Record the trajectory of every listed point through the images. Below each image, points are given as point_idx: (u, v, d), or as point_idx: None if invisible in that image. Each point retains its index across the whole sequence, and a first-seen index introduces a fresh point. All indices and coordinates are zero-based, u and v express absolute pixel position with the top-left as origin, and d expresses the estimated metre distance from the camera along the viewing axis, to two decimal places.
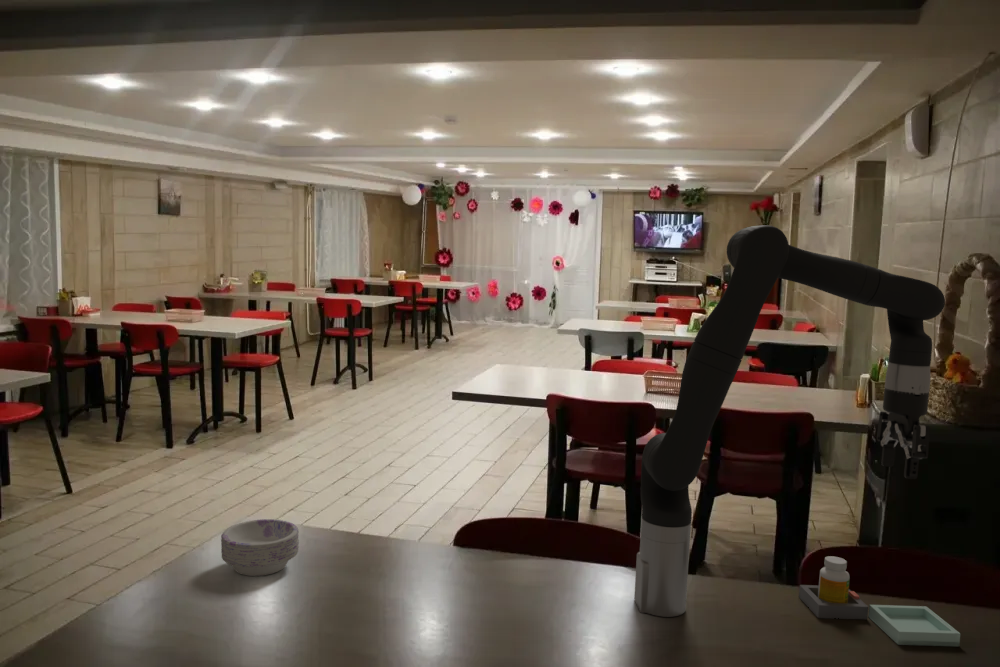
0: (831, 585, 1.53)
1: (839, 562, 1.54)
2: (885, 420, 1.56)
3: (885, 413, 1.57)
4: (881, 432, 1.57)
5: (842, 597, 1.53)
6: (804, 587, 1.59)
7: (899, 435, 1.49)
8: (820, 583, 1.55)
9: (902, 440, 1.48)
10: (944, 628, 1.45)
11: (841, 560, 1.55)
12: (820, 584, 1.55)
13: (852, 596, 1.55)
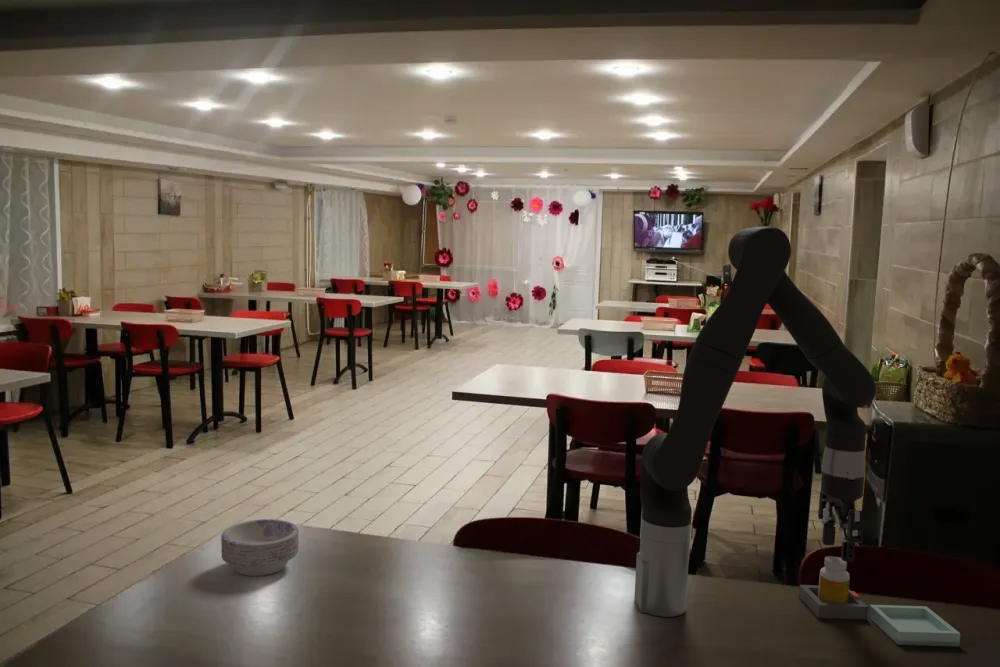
0: (831, 585, 1.53)
1: (839, 562, 1.54)
2: (825, 499, 1.59)
3: None
4: (822, 511, 1.60)
5: (842, 597, 1.53)
6: (804, 587, 1.59)
7: (836, 518, 1.52)
8: (820, 583, 1.55)
9: (838, 523, 1.51)
10: (944, 628, 1.45)
11: (841, 560, 1.55)
12: (820, 584, 1.55)
13: (852, 596, 1.55)
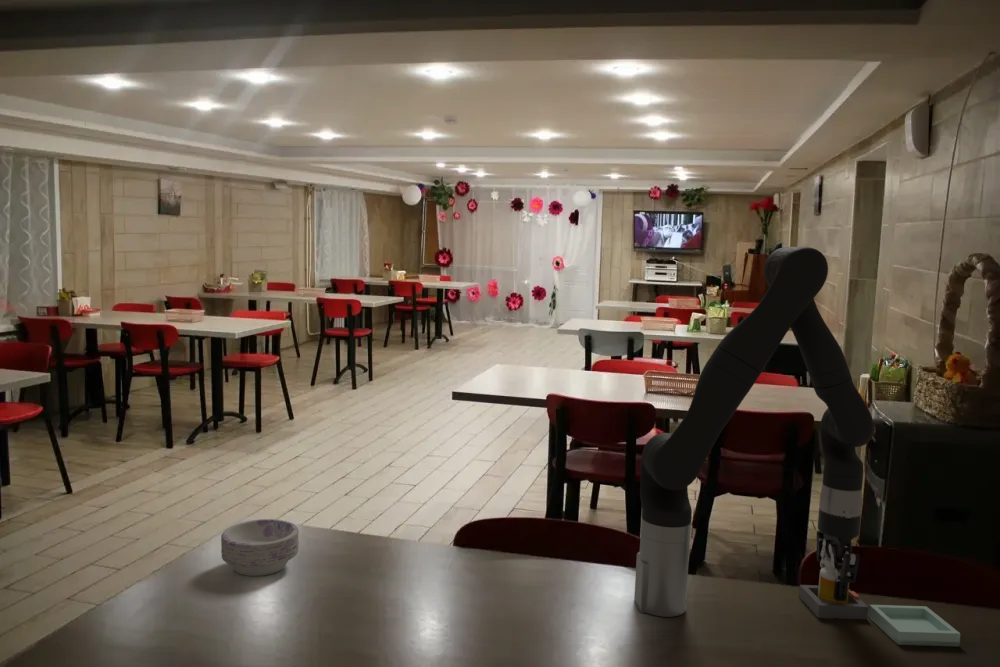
0: (831, 585, 1.53)
1: None
2: (822, 539, 1.60)
3: (821, 532, 1.60)
4: (820, 551, 1.60)
5: None
6: (804, 587, 1.59)
7: (831, 556, 1.53)
8: (820, 583, 1.55)
9: (833, 563, 1.52)
10: (944, 628, 1.45)
11: None
12: (820, 584, 1.55)
13: (852, 596, 1.55)
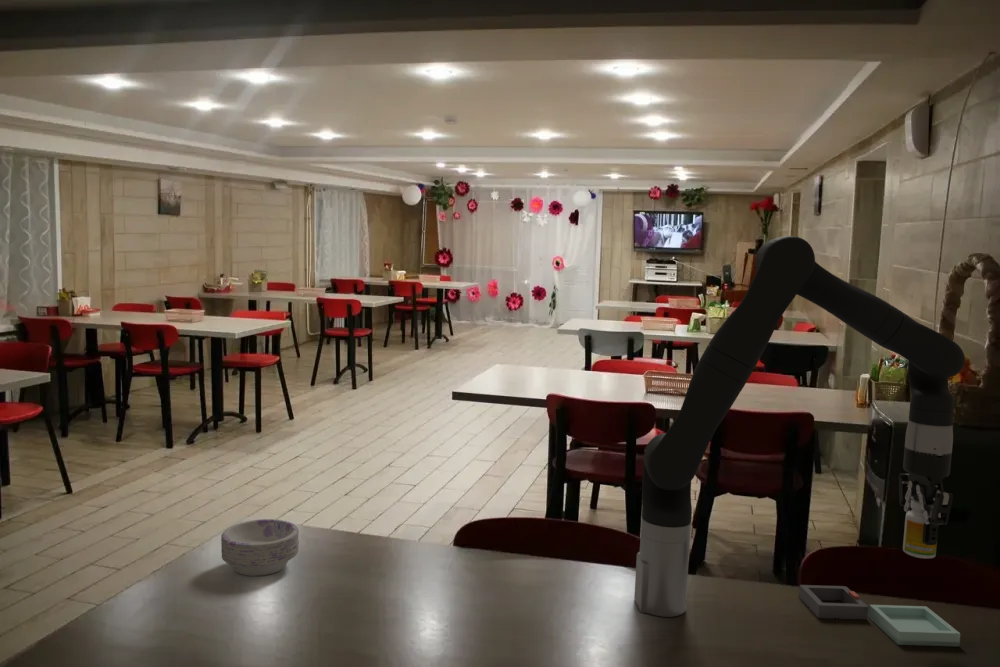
0: (920, 528, 1.43)
1: (928, 504, 1.44)
2: (905, 482, 1.50)
3: (904, 475, 1.51)
4: (903, 495, 1.50)
5: None
6: (804, 587, 1.59)
7: (920, 497, 1.43)
8: (907, 527, 1.46)
9: (922, 504, 1.42)
10: (944, 628, 1.45)
11: None
12: (907, 528, 1.45)
13: (852, 596, 1.55)
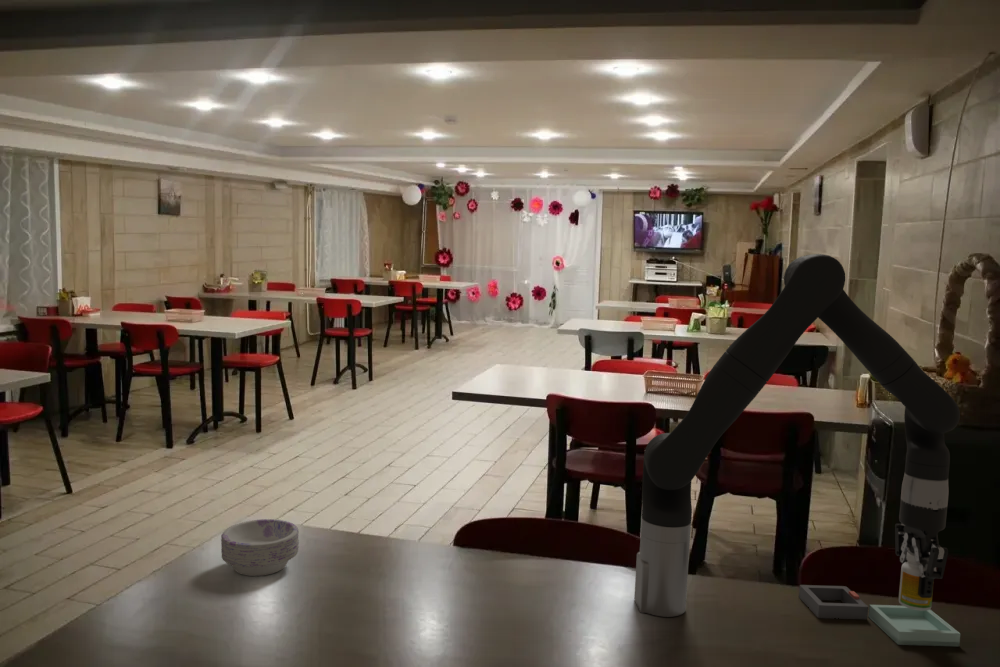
0: (915, 581, 1.44)
1: None
2: (902, 532, 1.51)
3: (900, 525, 1.51)
4: (899, 546, 1.51)
5: None
6: (804, 587, 1.59)
7: (915, 550, 1.44)
8: (902, 579, 1.46)
9: (918, 557, 1.43)
10: (944, 628, 1.45)
11: None
12: (902, 580, 1.46)
13: (852, 596, 1.55)
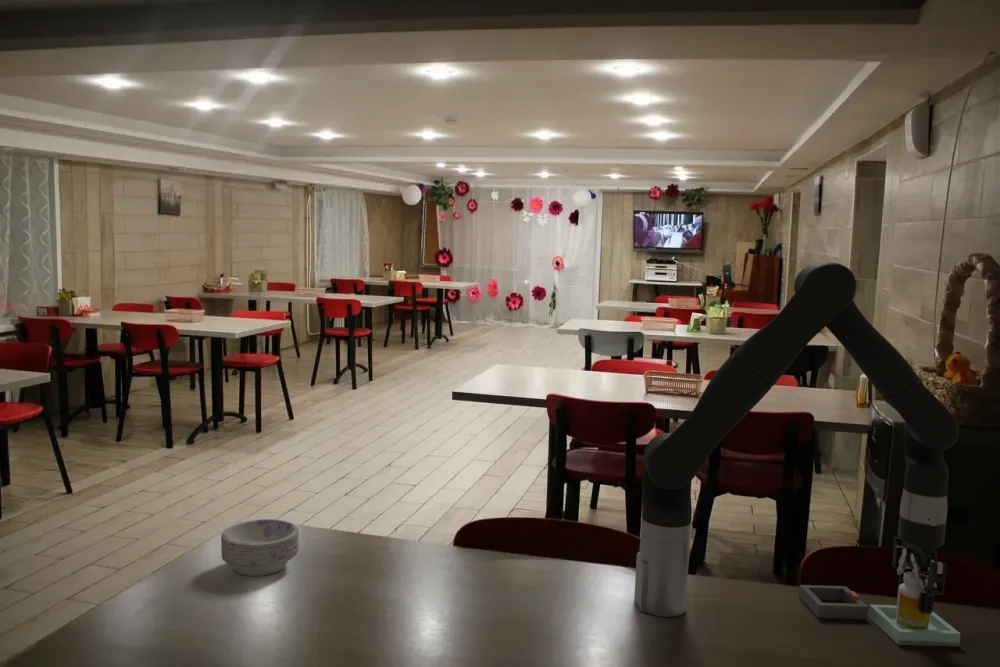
0: (912, 602, 1.45)
1: None
2: (900, 546, 1.51)
3: (899, 538, 1.52)
4: (897, 559, 1.52)
5: (924, 615, 1.44)
6: (804, 587, 1.59)
7: (914, 566, 1.44)
8: (899, 600, 1.47)
9: (917, 573, 1.43)
10: (944, 628, 1.45)
11: None
12: (899, 601, 1.47)
13: (852, 596, 1.55)
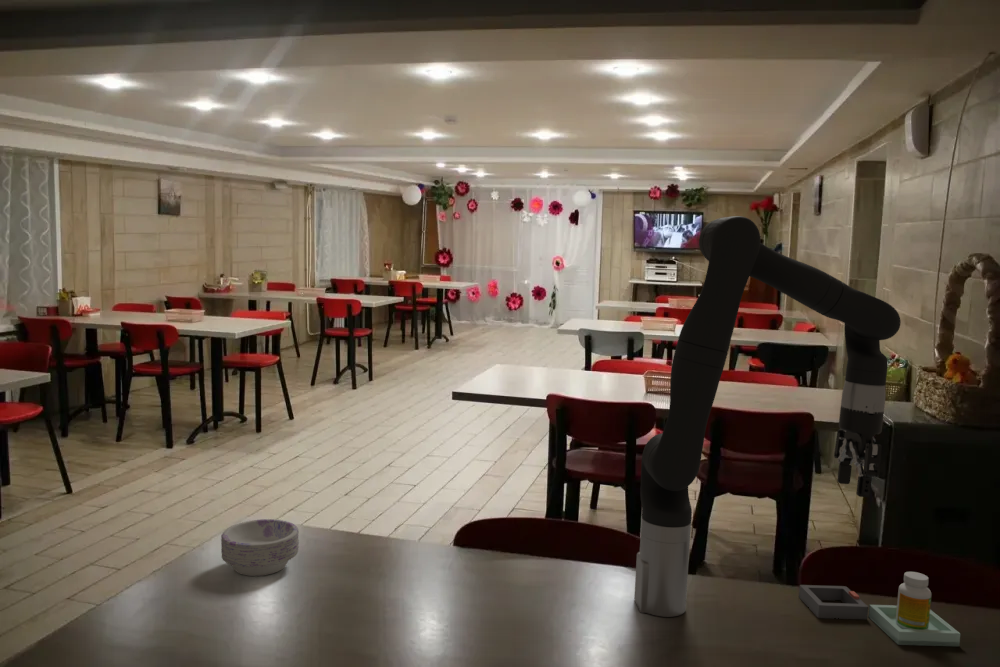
0: (912, 602, 1.45)
1: (920, 578, 1.45)
2: (842, 437, 1.58)
3: (842, 431, 1.58)
4: (838, 449, 1.58)
5: (924, 615, 1.44)
6: (804, 587, 1.59)
7: (853, 453, 1.50)
8: (899, 600, 1.47)
9: (855, 458, 1.49)
10: (944, 628, 1.45)
11: (922, 576, 1.46)
12: (899, 601, 1.47)
13: (852, 596, 1.55)
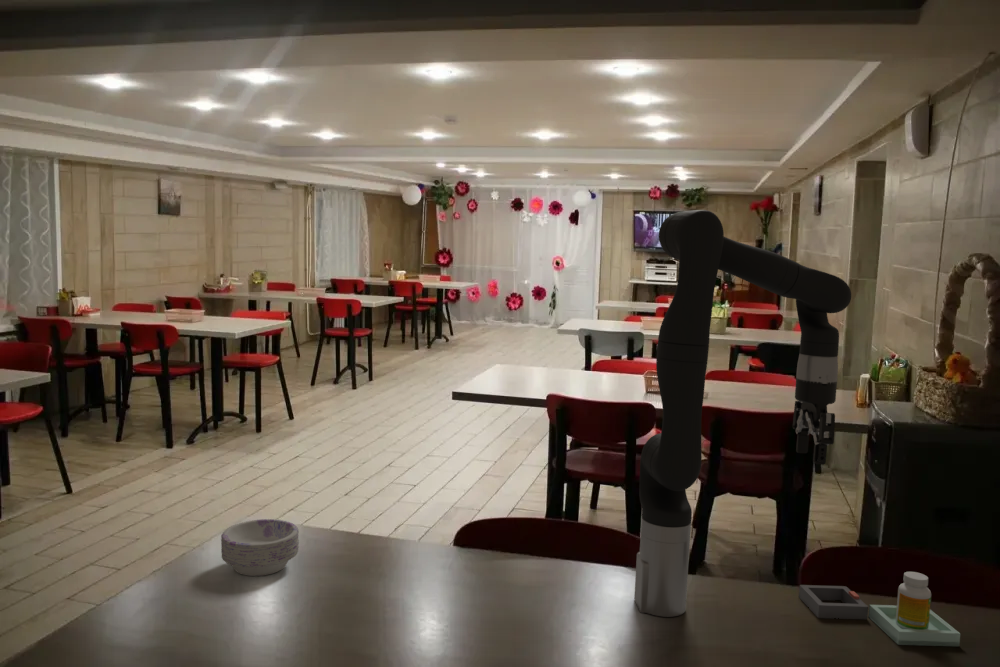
0: (912, 602, 1.45)
1: (920, 578, 1.45)
2: (799, 409, 1.64)
3: (799, 402, 1.64)
4: (796, 420, 1.64)
5: (923, 615, 1.44)
6: (804, 587, 1.59)
7: (809, 423, 1.56)
8: (899, 600, 1.47)
9: (811, 427, 1.55)
10: (944, 628, 1.45)
11: (922, 576, 1.46)
12: (899, 601, 1.47)
13: (852, 596, 1.55)
